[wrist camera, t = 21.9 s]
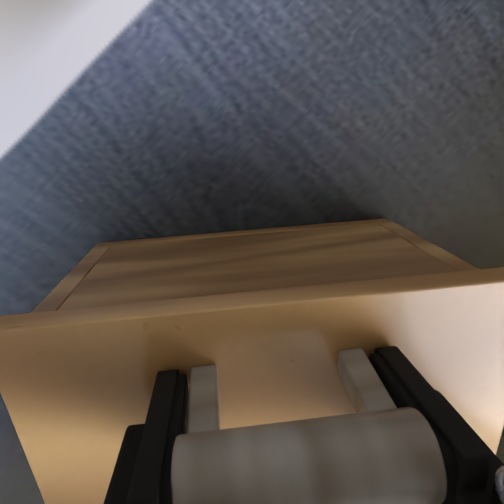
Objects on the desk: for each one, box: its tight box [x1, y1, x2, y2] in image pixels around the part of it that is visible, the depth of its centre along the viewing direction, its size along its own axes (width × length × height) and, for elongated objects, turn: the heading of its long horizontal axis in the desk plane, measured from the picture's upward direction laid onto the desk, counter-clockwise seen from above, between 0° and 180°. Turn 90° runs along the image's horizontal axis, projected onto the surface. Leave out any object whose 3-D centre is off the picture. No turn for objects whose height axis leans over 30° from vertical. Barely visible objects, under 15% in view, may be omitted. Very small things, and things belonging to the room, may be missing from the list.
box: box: [31, 218, 479, 313], centre depth 18 cm, size 16×15×8 cm
